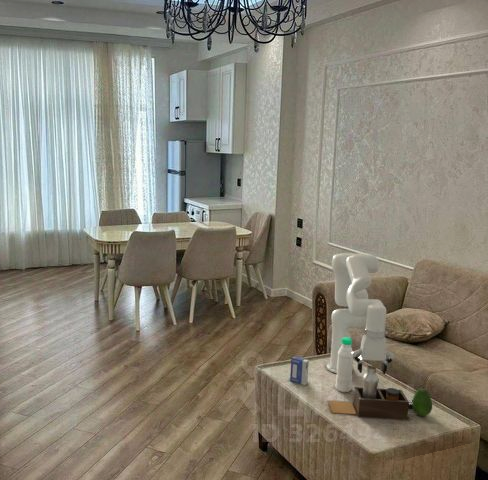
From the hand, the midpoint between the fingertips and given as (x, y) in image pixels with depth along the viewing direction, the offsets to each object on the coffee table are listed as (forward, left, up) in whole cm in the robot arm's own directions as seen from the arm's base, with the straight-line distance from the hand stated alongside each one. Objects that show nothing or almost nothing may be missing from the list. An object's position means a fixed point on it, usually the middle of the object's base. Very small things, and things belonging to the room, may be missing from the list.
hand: (371, 372), depth 228 cm
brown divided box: (0, +5, -18) cm, 19 cm away
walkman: (-24, -27, -18) cm, 41 cm away
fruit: (+1, +22, -18) cm, 28 cm away
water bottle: (-19, -7, -18) cm, 28 cm away
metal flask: (0, 0, -18) cm, 18 cm away
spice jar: (0, +9, -18) cm, 20 cm away
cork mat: (-1, -11, -18) cm, 21 cm away
